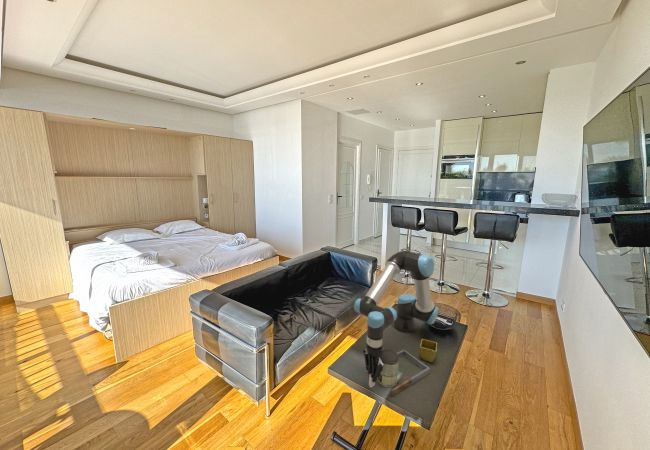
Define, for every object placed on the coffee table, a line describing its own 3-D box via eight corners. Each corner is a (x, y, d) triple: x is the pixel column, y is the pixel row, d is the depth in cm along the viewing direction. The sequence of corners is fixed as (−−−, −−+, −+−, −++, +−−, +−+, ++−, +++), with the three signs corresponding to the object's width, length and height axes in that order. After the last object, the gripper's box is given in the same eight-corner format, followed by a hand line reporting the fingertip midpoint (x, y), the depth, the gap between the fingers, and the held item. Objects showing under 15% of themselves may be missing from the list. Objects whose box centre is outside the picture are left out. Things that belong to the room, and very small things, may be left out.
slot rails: (385, 363, 147) (385, 358, 146) (411, 384, 132) (411, 379, 132) (366, 372, 140) (367, 368, 139) (391, 396, 125) (392, 391, 124)
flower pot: (420, 351, 157) (421, 338, 155) (435, 356, 153) (437, 342, 152) (418, 360, 149) (419, 346, 148) (434, 365, 146) (436, 351, 144)
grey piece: (403, 353, 155) (403, 349, 154) (429, 373, 140) (430, 368, 140) (385, 363, 147) (385, 358, 146) (411, 384, 132) (411, 379, 132)
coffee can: (373, 378, 136) (374, 355, 133) (384, 369, 142) (385, 346, 140) (390, 390, 128) (391, 366, 125) (401, 380, 135) (403, 356, 132)
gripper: (359, 338, 128) (357, 379, 133) (378, 354, 117) (375, 398, 122) (370, 334, 132) (368, 374, 137) (389, 348, 121) (386, 391, 126)
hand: (371, 385), depth 129 cm, fingers closed
